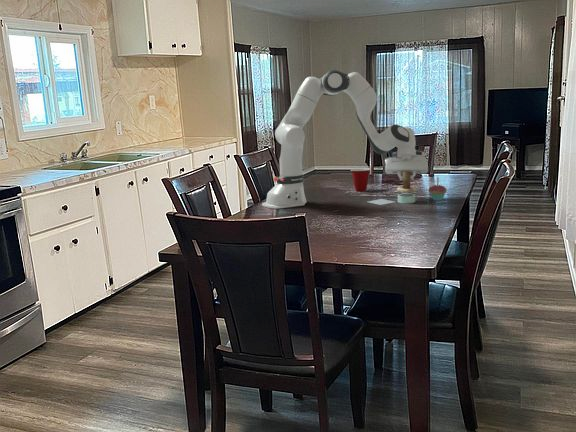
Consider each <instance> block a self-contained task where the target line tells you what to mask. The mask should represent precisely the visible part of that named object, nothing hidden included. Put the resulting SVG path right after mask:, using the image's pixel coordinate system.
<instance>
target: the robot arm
mask: <svg viewBox="0 0 576 432" xmlns="http://www.w3.org/2000/svg"><path fill="white" fill-rule="evenodd" d="M342 92H343V93H346V94H347V95H348V96H349V97H350V99H351V100H352V102H353V103H354V105H355V109H356V111H355V115H356V118H357V120H358V122H359V124H360V126H361V127H362V130H363V132H364V133H365V135H366V137H367V138H368V141H369V143H370V146H371V148H372V150H373V152H375V153H377V154H378V155H382V156H384V155H386V154H388V153H389V152H390V151H391V150H392V149H395V147H396V148H397V152H396V153H397V154H396V155H397V156H388V157H386V158H385V159H384V164H385V167H384V168H385V169H384V171H385V174H386V175H397V176H398V178H399V181H400V182H401V181H402V182H403V172H404V171H410V182H412V181H414V178H415V177H416V175H417V174H418V175H419V174H421V175H422V174H427V173H429V165H428V164H429V163H428V160H427V158H426V155H425V154H426V153H425V152H424V151H420V150H416V145H417V144H416V136H415V131H414V130H413V129H412V128H410V127H408V126H402V125H399V124H396V123H395V124H392V125H390V126H389V127H387V128H386V129H385V130H383V131H382V132H381V133H379V132H378V131H377V129H376V127H375V125H374V124H373V122H372V119H371V115H372V112H373V110H374V108H375V107H376V104H377V99H378V96H377V93H376V92H375V89H374V88H373V87H372V86H371V84H370V83H369V82H368V81H367V80H366V79H365V77H364V76H362V75H361V74H360V73H359V72H358V71H357V72H356V71H353V72H350V73H348V74H347V73H346V72H345V73H344V72H342V71H340V70H338V69H337V70H336V69H333V70H329V71H327V72H326V73H325V74H324V75H323V76H322V77H320V78H317V77H316V76H308V77H306V78H305V79H304V80H303V82H302V83H301V84H300V86H299V87H298V89H297V92H296V94H295V96H294V98H293V100H292V102H291V104H290V106H289V108H288V110H287V112H286V113H285V114H284V116H283V118H282V120H281V121H280V122H279V124H278V126H277V128H276V129H275V130H274V136H275V139H276V141H277V143H279V144H280V145H281V147H280V155H279V162H278V163H279V176H273V181H276V182H277V183H276V184H275V185H274V186H273V187H272V188H271V189H270V190H269V191H268V192H267V194H266V200H265V202H262V203H261V205H262V206H263V207H264V208H268V209H275V210H278V209H285V208H293V207H294V208H295V207H301V206H305V204H306V203H307V202H308V201H307V199H306V194H305V191H304V190H305V189H304V174H303V150H304V142H305V140H306V135H305V134H306V133H305V131H304V130H303V128H304V127H305V125H306V124H307V122H308V121H309V120H310V119H311V117H312V115H313V113H314V111H315V109H316V106H317V104H318V103H319V101H320V98H321V97H322V95H323V96H324V95H325V96H330V97H331V96H336V95H338V94H339V93H342ZM411 174H412V175H411Z"/></svg>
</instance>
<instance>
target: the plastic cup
mask: <svg viewBox="0 0 576 432" xmlns="http://www.w3.org/2000/svg"><path fill="white" fill-rule="evenodd" d="M350 172H351V175H352V180H353V185H354V189H355V191H356V192H366V191H367V188H368V184H369V177H370V172H371V168H351V169H350Z"/></svg>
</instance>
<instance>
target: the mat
mask: <svg viewBox="0 0 576 432" xmlns="http://www.w3.org/2000/svg"><path fill="white" fill-rule="evenodd" d="M367 203H370V204H375V205H379V206H383V205H387V204H392V203H396V201H394V200H389V199H384V198H378V199H374V200H369V201H367Z"/></svg>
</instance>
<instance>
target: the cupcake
mask: <svg viewBox="0 0 576 432" xmlns="http://www.w3.org/2000/svg"><path fill="white" fill-rule="evenodd" d="M436 180H437V181H436V184H435V185H432V186H430V187H428V193H430V195H431V199H432V200H433V201H444V197H445V194H446V193H447V192H448V191H447V190H448V189H447V188H446V187H445V186H443V185H441V184H439V183H440V182H439V176H437V177H436Z"/></svg>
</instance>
